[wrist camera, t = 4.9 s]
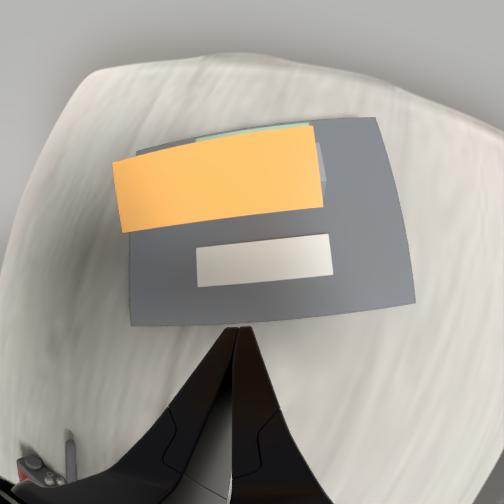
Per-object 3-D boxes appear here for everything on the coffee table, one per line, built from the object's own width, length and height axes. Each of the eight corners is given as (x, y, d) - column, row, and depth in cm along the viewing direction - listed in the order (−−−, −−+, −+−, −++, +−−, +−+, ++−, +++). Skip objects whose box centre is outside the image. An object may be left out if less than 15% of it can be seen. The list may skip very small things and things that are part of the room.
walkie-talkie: (92, 550, 15) (89, 442, 19) (73, 566, 11) (57, 457, 14) (40, 512, 17) (29, 397, 20) (20, 523, 13) (-2, 403, 16)
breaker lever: (302, 191, 18) (327, 206, 7) (213, 202, 19) (119, 233, 8) (298, 159, 17) (316, 125, 7) (209, 171, 18) (109, 163, 7)
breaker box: (407, 304, 17) (436, 300, 13) (141, 325, 19) (104, 326, 15) (371, 128, 20) (383, 90, 15) (145, 159, 22) (117, 131, 18)
